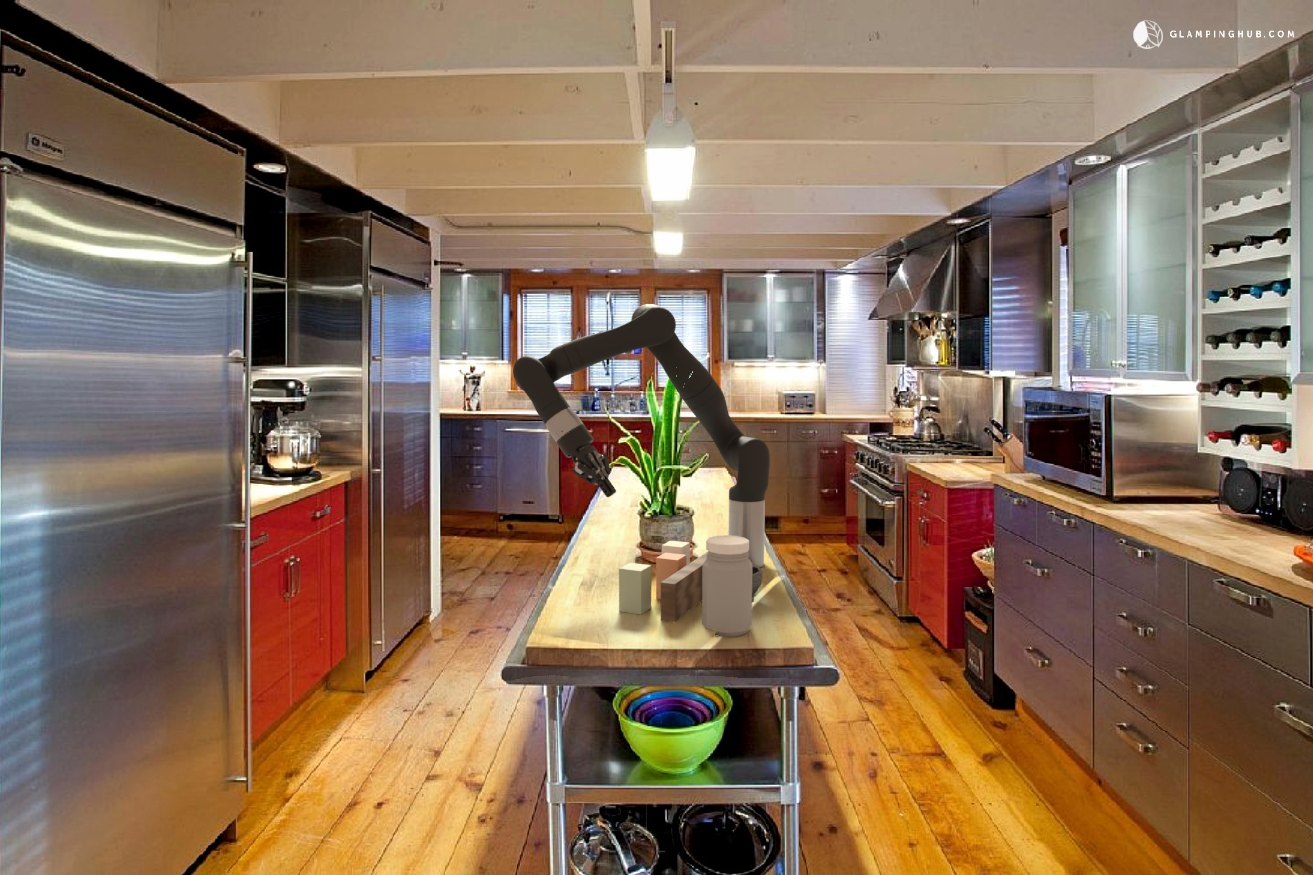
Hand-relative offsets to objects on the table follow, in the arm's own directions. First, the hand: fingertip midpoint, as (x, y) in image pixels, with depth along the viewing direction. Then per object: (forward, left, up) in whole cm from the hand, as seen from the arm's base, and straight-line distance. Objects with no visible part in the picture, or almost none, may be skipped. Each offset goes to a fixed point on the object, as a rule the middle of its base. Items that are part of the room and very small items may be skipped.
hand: (612, 494), depth 174 cm
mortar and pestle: (-5, +29, -23) cm, 37 cm away
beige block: (-9, +12, -21) cm, 26 cm away
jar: (+13, +32, -23) cm, 41 cm away
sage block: (+13, +12, -21) cm, 28 cm away
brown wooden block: (+2, +14, -22) cm, 26 cm away
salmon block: (+2, +15, -21) cm, 26 cm away
